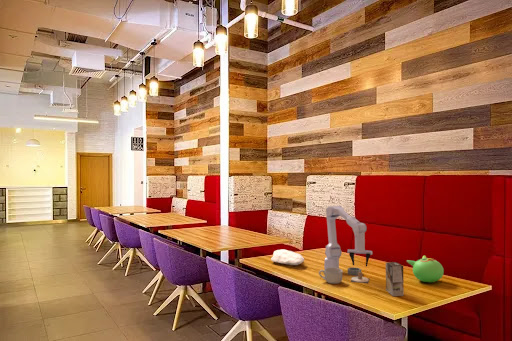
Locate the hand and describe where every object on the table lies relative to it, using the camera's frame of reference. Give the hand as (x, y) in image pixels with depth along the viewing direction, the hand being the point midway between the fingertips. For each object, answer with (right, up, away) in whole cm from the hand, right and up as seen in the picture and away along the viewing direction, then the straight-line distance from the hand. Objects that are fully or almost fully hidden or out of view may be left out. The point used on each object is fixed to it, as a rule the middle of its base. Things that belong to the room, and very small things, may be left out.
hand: (360, 265), depth 227 cm
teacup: (-19, -10, -4) cm, 21 cm away
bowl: (0, -10, +15) cm, 18 cm away
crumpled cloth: (-39, -10, +46) cm, 61 cm away
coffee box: (+12, -9, -24) cm, 29 cm away
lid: (0, -9, 0) cm, 9 cm away
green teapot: (+40, -9, -2) cm, 41 cm away
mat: (0, -9, 0) cm, 9 cm away
